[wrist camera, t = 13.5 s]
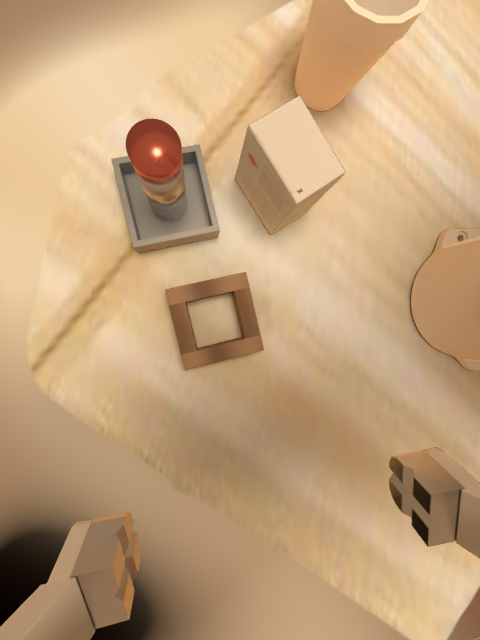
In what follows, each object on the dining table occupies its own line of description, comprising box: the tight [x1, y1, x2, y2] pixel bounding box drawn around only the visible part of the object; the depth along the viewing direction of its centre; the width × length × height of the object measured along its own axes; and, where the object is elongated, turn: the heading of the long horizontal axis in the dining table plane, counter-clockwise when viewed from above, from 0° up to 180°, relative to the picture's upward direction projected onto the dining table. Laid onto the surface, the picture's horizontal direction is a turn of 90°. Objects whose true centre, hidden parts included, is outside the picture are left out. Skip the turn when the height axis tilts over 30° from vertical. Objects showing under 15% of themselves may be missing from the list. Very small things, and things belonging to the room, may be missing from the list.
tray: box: [112, 145, 219, 253], centre depth 33 cm, size 9×9×3 cm
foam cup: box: [294, 0, 429, 111], centre depth 31 cm, size 10×9×13 cm
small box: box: [235, 96, 345, 235], centre depth 31 cm, size 8×6×10 cm
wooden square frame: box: [166, 272, 264, 370], centre depth 35 cm, size 9×9×2 cm
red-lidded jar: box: [126, 119, 187, 222], centre depth 28 cm, size 4×4×12 cm
